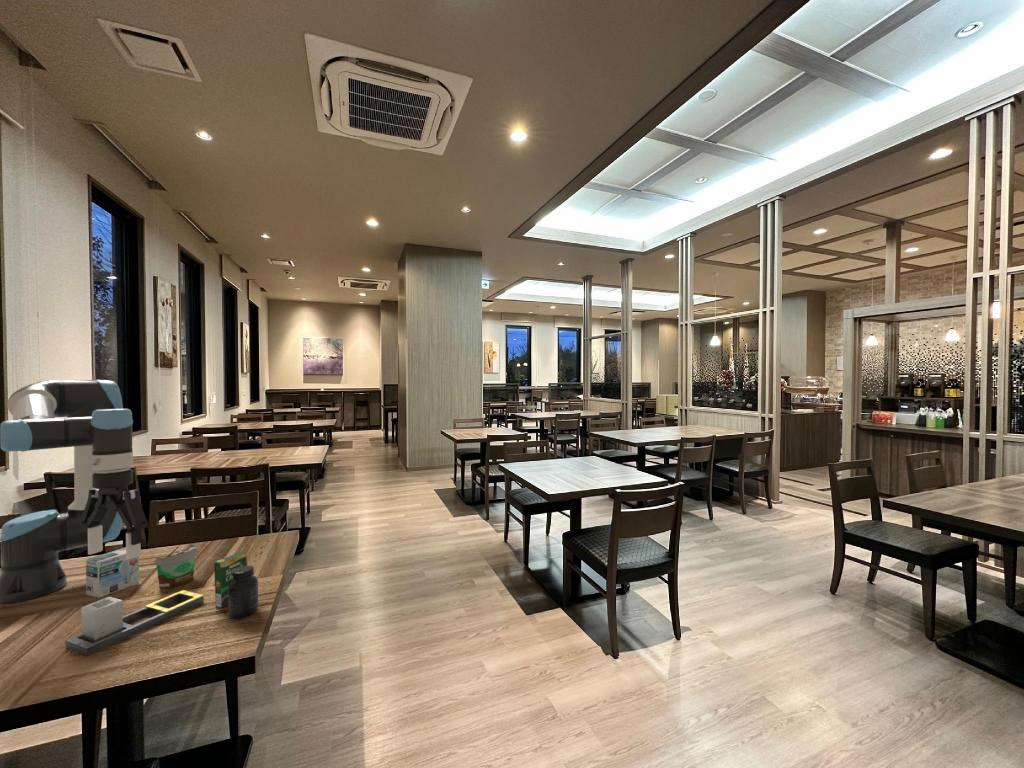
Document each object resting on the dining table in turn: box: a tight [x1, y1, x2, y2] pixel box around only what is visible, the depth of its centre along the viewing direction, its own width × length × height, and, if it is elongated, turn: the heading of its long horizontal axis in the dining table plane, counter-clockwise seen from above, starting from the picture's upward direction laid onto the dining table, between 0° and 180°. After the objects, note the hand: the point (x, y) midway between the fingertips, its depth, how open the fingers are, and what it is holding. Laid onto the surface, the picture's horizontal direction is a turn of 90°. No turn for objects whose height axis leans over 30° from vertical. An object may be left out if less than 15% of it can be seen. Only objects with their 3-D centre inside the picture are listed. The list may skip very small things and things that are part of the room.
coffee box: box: [213, 551, 248, 610], centre depth 123 cm, size 8×3×13 cm, turn 157°
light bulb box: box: [85, 546, 140, 599], centre depth 132 cm, size 11×7×11 cm, turn 161°
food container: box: [154, 543, 199, 590], centre depth 136 cm, size 12×6×10 cm, turn 168°
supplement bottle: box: [228, 565, 259, 620], centre depth 117 cm, size 7×7×12 cm
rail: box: [64, 589, 205, 657], centre depth 113 cm, size 9×26×2 cm, turn 158°
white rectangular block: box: [80, 596, 124, 643], centre depth 105 cm, size 6×6×9 cm
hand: (114, 555), depth 108 cm, fingers open, 13 cm apart
